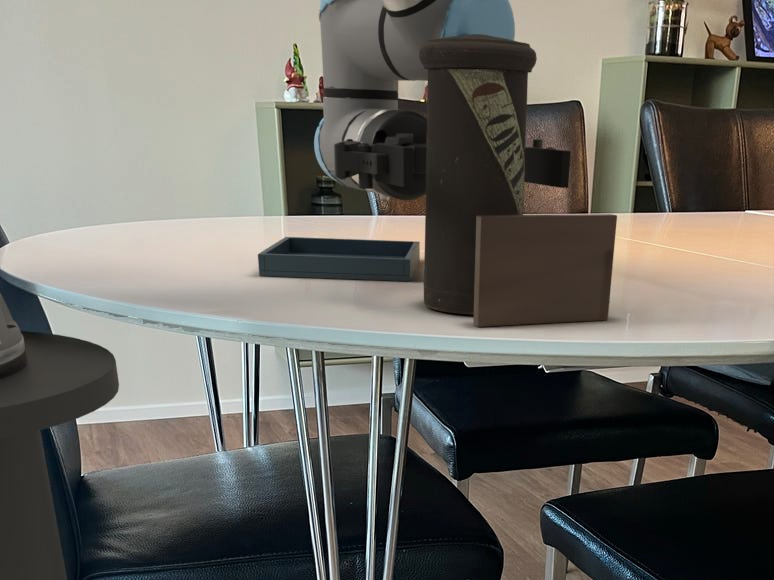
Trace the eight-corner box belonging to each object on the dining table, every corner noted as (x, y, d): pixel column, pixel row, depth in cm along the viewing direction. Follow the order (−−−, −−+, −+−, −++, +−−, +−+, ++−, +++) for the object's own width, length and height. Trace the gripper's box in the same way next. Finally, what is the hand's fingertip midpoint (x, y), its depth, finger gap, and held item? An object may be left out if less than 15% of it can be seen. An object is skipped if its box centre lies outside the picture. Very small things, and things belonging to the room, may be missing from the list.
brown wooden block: (608, 320, 82) (617, 215, 78) (478, 327, 77) (481, 216, 74) (526, 290, 94) (530, 198, 90) (409, 295, 89) (409, 198, 86)
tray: (259, 275, 96) (257, 254, 96) (286, 256, 109) (285, 236, 108) (410, 281, 97) (410, 259, 96) (419, 260, 110) (419, 241, 109)
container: (492, 321, 80) (503, 29, 70) (399, 308, 83) (397, 30, 74) (541, 306, 86) (557, 38, 77) (452, 295, 90) (457, 38, 81)
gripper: (509, 197, 101) (620, 218, 84) (267, 197, 92) (337, 221, 75) (513, 114, 98) (629, 119, 81) (262, 105, 88) (334, 108, 71)
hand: (489, 168), depth 78 cm, fingers open, 13 cm apart
